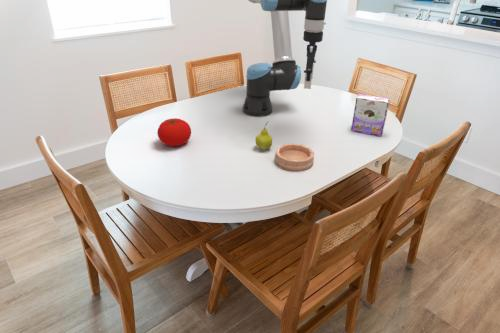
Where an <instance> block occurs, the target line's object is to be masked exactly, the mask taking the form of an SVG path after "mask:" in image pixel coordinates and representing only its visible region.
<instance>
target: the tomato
mask: <svg viewBox="0 0 500 333" xmlns="http://www.w3.org/2000/svg"><path fill="white" fill-rule="evenodd" d="M156 133H157V137H158V139H159V140H160V142H161V143H162V144H163V145H166V146H169V147H175V146H176V147H177V146H181V145H184V144H186V142H188V141H189V139H190V138H191V136H192V129H191V125H190V124H189V123H188V121H186V120H183V119H181V118H176V117H175V118H167V119H165V120H163V121H162V122H161V123H160V124H159V126H158V128H157V132H156Z"/></svg>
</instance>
